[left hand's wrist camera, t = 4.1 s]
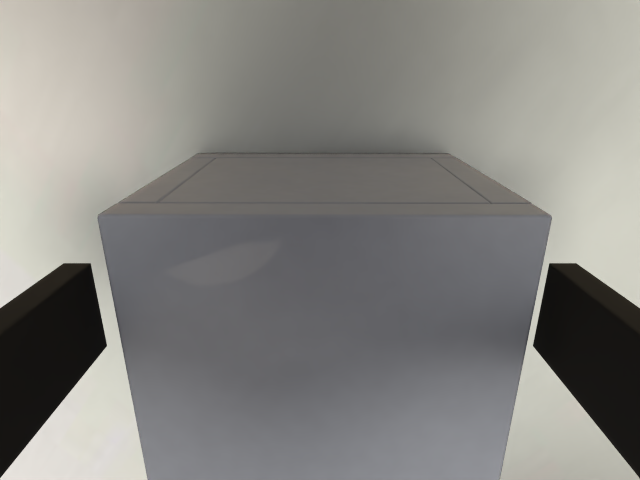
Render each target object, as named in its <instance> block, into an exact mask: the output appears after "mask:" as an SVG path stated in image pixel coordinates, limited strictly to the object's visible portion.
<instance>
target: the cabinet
mask: <svg viewBox="0 0 640 480" xmlns="http://www.w3.org/2000/svg"><path fill="white" fill-rule="evenodd" d="M551 220H552V218H551V215H549V214H548V213H546V212H545V211H543V210H541V209H540V208H538V207H536V206H535V205H533V204H532V203H531V202H529V201H527V200H526V199H524V198H522V197H521V196H519V195H517V194H516V193H514V192H512V191H511V190H509V189H508V188H506V187H504V186H503V185H501V184H499V183H498V182H496V181H494V180H493V179H491V178H489V177H488V176H486V175H484V174H483V173H481V172H479V171H478V170H476V169H474V168H473V167H471V166H469V165H468V164H466V163H464V162H463V161H461V160H459V159H458V158H455V157H454V156H452V155H451V154H196V155H194V156H193V157H191V158H190V159H188V160H187V161H185V162H183V163H182V164H180V165H178V166H177V167H175V168H174V169H172V170H170V171H169V172H167V173H165V174H164V175H162V176H161V177H159V178H157V179H156V180H154V181H152V182H151V183H149V184H148V185H146V186H144V187H143V188H141V189H139V190H138V191H136V192H135V193H133V194H131V195H130V196H128V197H126V198H125V199H123V200H122V201H120V202H119V203H117V204H115V205H113V206H112V207H110V208H108V209H107V210H105V211H104V212H102V213H100V214H99V215H98V223H99V228H100V233H101V238H102V244H103V249H104V254H105V259H106V264H107V270H108V275H109V280H110V285H111V291H112V296H113V301H114V306H115V311H116V317H117V322H118V327H119V332H120V337H121V343H122V348H123V353H124V358H125V364H126V369H127V374H128V379H129V384H130V390H131V395H132V400H133V405H134V410H135V416H136V421H137V426H138V431H139V437H140V442H141V447H142V452H143V457H144V463H145V468H146V473H147V478H148V480H500V475H501V470H502V465H503V460H504V455H505V450H506V445H507V440H508V435H509V430H510V425H511V420H512V415H513V410H514V405H515V400H516V395H517V390H518V385H519V380H520V375H521V370H522V365H523V360H524V355H525V350H526V345H527V340H528V335H529V330H530V325H531V320H532V315H533V310H534V305H535V300H536V295H537V290H538V285H539V280H540V275H541V270H542V265H543V260H544V255H545V250H546V245H547V240H548V235H549V230H550V225H551Z"/></svg>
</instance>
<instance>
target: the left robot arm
mask: <svg viewBox="0 0 640 480" xmlns="http://www.w3.org/2000/svg"><path fill="white" fill-rule="evenodd" d="M106 346H107V344H106V339H105V334H104V329H103V324H102V319H101V314H100V309H99V303H98V298H97V293H96V288H95V283H94V278H93V273H92V268H91V263H64V264H62V265H61V266H59V267H58V268H57V269H55V270H54V271H52V272H51V273H50V274H48V275H47V276H45V277H44V278H43V279H41V280H40V281H38V282H37V283H35V284H34V285H33V286H31V287H30V288H28V289H27V290H26V291H24V292H23V293H21V294H20V295H18V296H17V297H16V298H14V299H13V300H11V301H10V302H9V303H7V304H6V305H4V306H3V307H2V308H0V478H1V476H2V475H3V474H4V473H5V471H6V470H7V469H8V468H9V466H10V465H11V464H12V463H13V462H14V460H15V459H16V458H17V457H18V455H19V454H20V453H21V452H22V450H23V449H24V448H25V447H26V445H27V444H28V443H29V442H30V440H31V439H32V438H33V437H34V436H35V434H36V433H37V432H38V431H39V429H40V428H41V427H42V426H43V424H44V423H45V422H46V421H47V419H48V418H49V417H50V416H51V414H52V413H53V412H54V411H55V410H56V408H57V407H58V406H59V405H60V403H61V402H62V401H63V400H64V398H65V397H66V396H67V395H68V393H69V392H70V391H71V390H72V388H73V387H74V386H75V385H76V384H77V382H78V381H79V380H80V379H81V377H82V376H83V375H84V374H85V372H86V371H87V370H88V369H89V367H90V366H91V365H92V364H93V362H94V361H95V360H96V359H97V358H98V356H99V355H100V354H101V353H102V351H103V350H104V349H105V348H106ZM533 346H534V348H535V349H536V350H537V351H538V353H539V354H540V355H541V356H542V358H543V359H544V360H545V361H546V362H547V364H548V365H549V366H550V367H551V369H552V370H553V371H554V372H555V374H556V375H557V376H558V377H559V379H560V380H561V381H562V382H563V384H564V385H565V386H566V387H567V388H568V390H569V391H570V392H571V393H572V395H573V396H574V397H575V398H576V400H577V401H578V402H579V403H580V405H581V406H582V407H583V408H584V410H585V411H586V412H587V413H588V414H589V416H590V417H591V418H592V419H593V421H594V422H595V423H596V424H597V426H598V427H599V428H600V429H601V431H602V432H603V433H604V434H605V436H606V437H607V438H608V439H609V440H610V442H611V443H612V444H613V445H614V447H615V448H616V449H617V450H618V452H619V453H620V454H621V455H622V457H623V458H624V459H625V460H626V462H627V463H628V464H629V465H630V466H631V468H632V469H633V470H634V471H635V473H636V474H637V475H638V476H639V478H640V308H638V307H637V306H636V305H634V304H633V303H631V302H630V301H629V300H627V299H626V298H624V297H623V296H622V295H620V294H619V293H617V292H616V291H614V290H613V289H612V288H610V287H609V286H607V285H606V284H605V283H603V282H602V281H600V280H599V279H597V278H596V277H595V276H593V275H592V274H590V273H589V272H588V271H586V270H585V269H583V268H582V267H581V266H579V265H578V264H576V263H549V268H548V273H547V278H546V283H545V288H544V293H543V298H542V303H541V309H540V314H539V319H538V324H537V329H536V334H535V339H534V344H533Z"/></svg>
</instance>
